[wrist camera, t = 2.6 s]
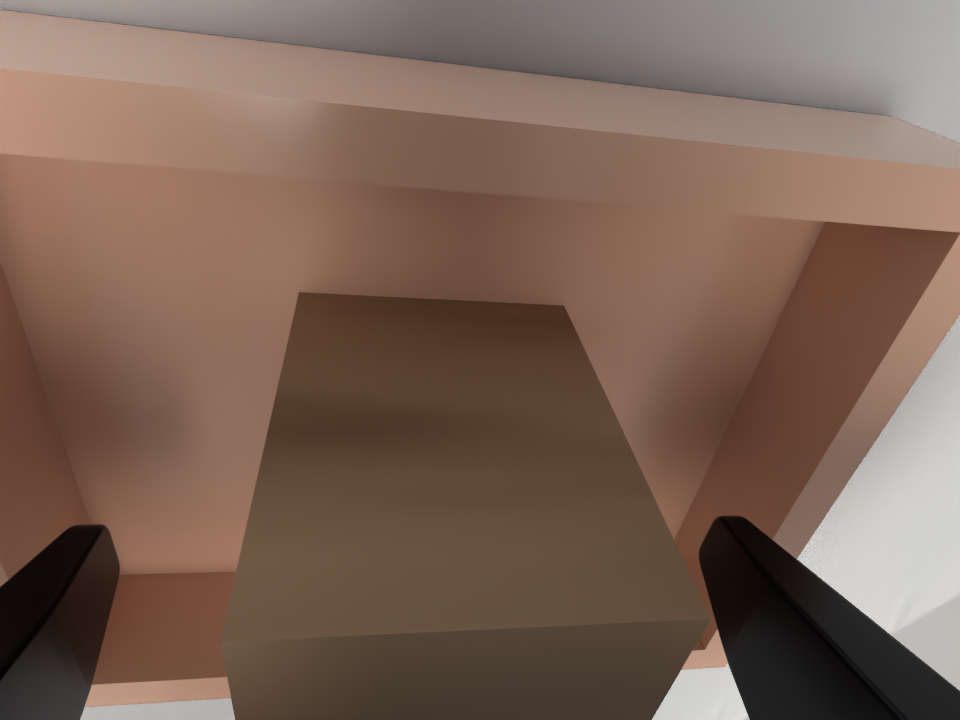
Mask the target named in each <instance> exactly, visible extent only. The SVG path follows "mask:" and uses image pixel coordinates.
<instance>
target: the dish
mask: <svg viewBox="0 0 960 720" xmlns="http://www.w3.org/2000/svg"><path fill="white" fill-rule="evenodd" d="M299 292H305V293H325V294H345V295H365V296H384V297H404V298H424V299H444V300H464V301H484V302H504V303H524V304H543V305H563V306H565V309H566V311H567V313H568V315H569V317H570V319H571V321H572V324H573V326H574V328H575V330H576V332H577V334H578V336H579V338H580V341H581V343H582V345H583V347H584V349H585V351H586V353H587V355H588V358H589V360H590V362H591V364H592V366H593V368H594V370H595V372H596V375H597V377H598V379H599V381H600V383H601V385H602V387H603V390H604V392H605V394H606V396H607V398H608V400H609V402H610V404H611V407H612V409H613V411H614V413H615V415H616V417H617V419H618V421H619V424H620V426H621V428H622V430H623V432H624V434H625V436H626V438H627V441H628V443H629V445H630V447H631V449H632V451H633V453H634V456H635V458H636V460H637V462H638V464H639V466H640V468H641V470H642V473H643V475H644V477H645V479H646V481H647V483H648V485H649V487H650V490H651V492H652V494H653V496H654V498H655V500H656V502H657V504H658V507H659V509H660V511H661V513H662V515H663V517H664V519H665V521H666V524H667V526H668V528H669V530H670V532H671V534H672V536H673V539H674V541H675V543H676V545H677V547H678V549H679V551H680V553H681V556H682V558H683V560H684V562H685V564H686V566H687V568H688V570H689V573H690V575H691V577H692V579H693V581H694V583H695V585H696V587H697V590H698V592H699V594H700V596H701V598H702V600H703V602H704V605H705V607H706V609H707V611H708V613H709V615H710V617H711V620H710V622H709V624H708V625H707V627H706V629H705V630H704V632H703V634H702V635H701V637H700V639H699V640H698V642H697V644H696V645H695V647H694V649H693V650H692V652H691V654H690V656H689V657H688V659H687V661H686V662H685V664H684V666H683V667H682V669H681V670H683V669H699V668H715V667H725V666H726V664H727V663H728V661H727V658H726V655H725V652H724V649H723V646H722V643H721V640H720V636H719V632H718V629H717V625H716V621H715V618H714V614H713V611H712V607H711V603H710V600H709V596H708V592H707V589H706V585H705V582H704V578H703V574H702V571H701V567H700V563H699V548H700V545H701V543H702V541H703V540H704V538H705V536H706V534H707V532H708V530H709V528H710V526H711V524H712V522H713V521H714V519H715V518H717V517H718V516H732V515H737V516H742V517H744V518H746V519H747V520H749V521H750V522H751V523H752V524H754V525H755V526H756V527H757V528H759V529H760V530H761V531H762V532H764V533H765V534H766V535H767V536H769V537H770V538H771V539H772V540H773V541H775V542H776V543H777V544H778V545H780V546H781V547H782V548H783V549H785V550H786V551H787V552H788V553H790V554H791V555H792V556H793V557H795V558H796V559H797V558H798V556H799V555H800V553H801V552H802V550H803V549H804V547H805V546H806V544H807V543H808V541H809V540H810V538H811V537H812V535H813V534H814V532H815V531H816V529H817V528H818V526H819V525H820V523H821V522H822V520H823V519H824V517H825V516H826V514H827V513H828V511H829V510H830V508H831V507H832V505H833V504H834V502H835V501H836V499H837V498H838V496H839V495H840V493H841V492H842V490H843V489H844V487H845V486H846V484H847V483H848V481H849V480H850V478H851V477H852V475H853V474H854V472H855V471H856V469H857V468H858V466H859V465H860V463H861V462H862V460H863V459H864V457H865V456H866V454H867V453H868V451H869V450H870V448H871V447H872V445H873V444H874V442H875V441H876V439H877V438H878V436H879V435H880V433H881V432H882V430H883V429H884V427H885V426H886V424H887V423H888V421H889V420H890V418H891V417H892V415H893V414H894V412H895V411H896V409H897V408H898V406H899V405H900V403H901V402H902V400H903V399H904V397H905V396H906V394H907V393H908V391H909V390H910V388H911V387H912V385H913V384H914V382H915V381H916V379H917V378H918V376H919V375H920V373H921V372H922V370H923V369H924V367H925V366H926V364H927V363H928V361H929V360H930V358H931V357H932V355H933V354H934V352H935V351H936V349H937V348H938V346H939V345H940V343H941V342H942V340H943V339H944V337H945V336H946V334H947V333H948V331H949V330H950V328H951V327H952V325H953V324H954V322H955V321H956V319H957V318H958V316H959V315H960V143H959V142H956V141H953V140H951V139H948V138H946V137H943V136H941V135H938V134H935V133H933V132H930V131H928V130H925V129H922V128H920V127H917V126H915V125H912V124H910V123H907V122H904V121H902V120H899V119H897V118H894V117H891V116H882V115H874V114H866V113H857V112H849V111H841V110H832V109H824V108H816V107H807V106H799V105H791V104H782V103H774V102H766V101H757V100H749V99H740V98H732V97H724V96H715V95H707V94H699V93H690V92H682V91H674V90H665V89H657V88H649V87H640V86H632V85H624V84H615V83H607V82H599V81H590V80H582V79H574V78H565V77H557V76H548V75H540V74H532V73H523V72H515V71H507V70H498V69H490V68H482V67H473V66H465V65H457V64H448V63H440V62H432V61H423V60H415V59H407V58H398V57H390V56H382V55H373V54H365V53H356V52H348V51H340V50H331V49H323V48H315V47H306V46H298V45H290V44H281V43H273V42H265V41H256V40H248V39H240V38H231V37H223V36H215V35H206V34H198V33H190V32H181V31H173V30H164V29H156V28H148V27H139V26H131V25H123V24H114V23H106V22H98V21H89V20H81V19H73V18H64V17H56V16H48V15H39V14H31V13H23V12H14V11H6V10H0V586H2V585H3V584H4V583H5V582H6V581H7V580H8V579H10V578H11V577H12V576H13V575H14V574H15V573H17V572H18V571H19V570H20V569H21V568H22V567H23V566H25V565H26V564H27V563H28V562H29V561H30V560H32V559H33V558H34V557H35V556H36V555H37V554H38V553H40V552H41V551H42V550H43V549H44V548H45V547H47V546H48V545H49V544H50V543H51V542H52V541H53V540H55V539H56V538H57V537H58V536H59V535H60V534H62V533H63V532H64V531H65V530H66V529H68V528H70V527H71V526H74V525H88V524H101V525H105V526H106V527H107V528H108V529H109V531H110V534H111V537H112V540H113V543H114V546H115V549H116V552H117V556H118V559H119V563H120V574H119V580H118V584H117V588H116V592H115V596H114V600H113V604H112V608H111V612H110V616H109V620H108V624H107V628H106V632H105V636H104V640H103V644H102V647H101V651H100V655H99V659H98V663H97V667H96V671H95V675H94V679H93V682H92V686H91V689H90V693H89V695H88V698H87V701H86V704H85V707H94V706H110V705H126V704H142V703H158V702H174V701H189V700H205V699H221V698H231V694H230V689H229V684H228V679H227V674H226V669H225V664H224V659H223V654H222V649H221V644H220V641H221V636H222V632H223V627H224V623H225V618H226V614H227V610H228V605H229V601H230V596H231V592H232V587H233V583H234V578H235V574H236V570H237V565H238V561H239V556H240V552H241V547H242V543H243V538H244V534H245V530H246V525H247V521H248V516H249V512H250V507H251V503H252V498H253V494H254V490H255V485H256V481H257V476H258V472H259V467H260V463H261V458H262V454H263V450H264V445H265V441H266V436H267V432H268V427H269V423H270V418H271V414H272V409H273V405H274V401H275V396H276V392H277V387H278V383H279V378H280V374H281V369H282V365H283V361H284V356H285V352H286V347H287V343H288V338H289V334H290V329H291V325H292V321H293V316H294V312H295V307H296V303H297V298H298V294H299Z"/></svg>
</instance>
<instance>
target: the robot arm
mask: <svg viewBox="0 0 960 720" xmlns="http://www.w3.org/2000/svg"><path fill="white" fill-rule="evenodd" d="M699 563H700V567H701V571H702V574H703V578H704V582H705V585H706V589H707V592H708V596H709V600H710V603H711V607H712V611H713V614H714V618H715V621H716V625H717V629H718V632H719V636H720V640H721V643H722V646H723V649H724V652H725V655H726V658H727V661H728V664H729V667H730V669H731V672H732V674H733V677H734V680H735V682H736V685H737V687H738V690H739V693H740V695H741V698H742V700H743V703H744V706H745V708H746V711H747V713H748V716H749V719H750V720H960V691H959V690H958V689H957V688H956V687H954V686H953V685H952V684H951V683H949V682H948V681H947V680H946V679H944V678H943V677H942V676H941V675H939V674H938V673H937V672H936V671H935V670H933V669H932V668H931V667H930V666H928V665H927V664H926V663H925V662H923V661H922V660H921V659H920V658H918V657H917V656H916V655H915V654H913V653H912V652H911V651H910V650H909V649H907V648H906V647H905V646H904V645H902V644H901V643H900V642H899V641H897V640H896V639H895V638H894V637H892V636H891V635H890V634H889V633H887V632H886V631H885V630H884V629H883V628H881V627H880V626H879V625H878V624H876V623H875V622H874V621H873V620H871V619H870V618H869V617H868V616H866V615H865V614H864V613H863V612H861V611H860V610H859V609H858V608H856V607H855V606H854V605H853V604H852V603H850V602H849V601H848V600H847V599H845V598H844V597H843V596H842V595H840V594H839V593H838V592H837V591H835V590H834V589H833V588H832V587H830V586H829V585H828V584H827V583H826V582H824V581H823V580H822V579H821V578H819V577H818V576H817V575H816V574H814V573H813V572H812V571H811V570H809V569H808V568H807V567H806V566H804V565H803V564H802V563H801V562H799V561H798V560H797V559H796V558H795V557H793V556H792V555H791V554H790V553H788V552H787V551H786V550H785V549H783V548H782V547H781V546H780V545H778V544H777V543H776V542H775V541H773V540H772V539H771V538H770V537H769V536H767V535H766V534H765V533H764V532H762V531H761V530H760V529H759V528H757V527H756V526H755V525H754V524H752V523H751V522H750V521H749V520H747V519H746V518H744V517H742V516H737V515H732V516H718V517H717V518H715V519H714V521H713V522H712V524H711V526H710V528H709V530H708V532H707V534H706V536H705V538H704V540H703V541H702V543H701V545H700V548H699ZM119 574H120V563H119V559H118V556H117V552H116V549H115V546H114V543H113V540H112V537H111V534H110V531H109V529H108V528H107V527H106V526H105V525H101V524H88V525H74V526H71V527H70V528H68V529H66V530H65V531H64V532H63V533H62V534H60V535H59V536H58V537H57V538H56V539H55V540H53V541H52V542H51V543H50V544H49V545H48V546H47V547H45V548H44V549H43V550H42V551H41V552H40V553H38V554H37V555H36V556H35V557H34V558H33V559H32V560H30V561H29V562H28V563H27V564H26V565H25V566H23V567H22V568H21V569H20V570H19V571H18V572H17V573H15V574H14V575H13V576H12V577H11V578H10V579H8V580H7V581H6V582H5V583H4V584H3V585H2V586H0V720H80V718H81V715H82V713H83V710H84V707H85V704H86V701H87V698H88V695H89V693H90V689H91V686H92V682H93V679H94V675H95V671H96V667H97V663H98V659H99V655H100V651H101V647H102V644H103V640H104V636H105V632H106V628H107V624H108V620H109V616H110V612H111V608H112V604H113V600H114V596H115V592H116V588H117V584H118V580H119Z"/></svg>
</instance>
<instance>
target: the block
mask: <svg viewBox="0 0 960 720" xmlns="http://www.w3.org/2000/svg"><path fill="white" fill-rule="evenodd" d="M710 620H711V617H710V615H709V613H708V611H707V609H706V607H705V605H704V602H703V600H702V598H701V596H700V594H699V592H698V590H697V587H696V585H695V583H694V581H693V579H692V577H691V575H690V573H689V570H688V568H687V566H686V564H685V562H684V560H683V558H682V556H681V553H680V551H679V549H678V547H677V545H676V543H675V541H674V539H673V536H672V534H671V532H670V530H669V528H668V526H667V524H666V521H665V519H664V517H663V515H662V513H661V511H660V509H659V507H658V504H657V502H656V500H655V498H654V496H653V494H652V492H651V490H650V487H649V485H648V483H647V481H646V479H645V477H644V475H643V473H642V470H641V468H640V466H639V464H638V462H637V460H636V458H635V456H634V453H633V451H632V449H631V447H630V445H629V443H628V441H627V438H626V436H625V434H624V432H623V430H622V428H621V426H620V424H619V421H618V419H617V417H616V415H615V413H614V411H613V409H612V407H611V404H610V402H609V400H608V398H607V396H606V394H605V392H604V390H603V387H602V385H601V383H600V381H599V379H598V377H597V375H596V372H595V370H594V368H593V366H592V364H591V362H590V360H589V358H588V355H587V353H586V351H585V349H584V347H583V345H582V343H581V341H580V338H579V336H578V334H577V332H576V330H575V328H574V326H573V324H572V321H571V319H570V317H569V315H568V313H567V311H566V309H565V306H563V305H543V304H524V303H504V302H484V301H464V300H444V299H424V298H404V297H384V296H365V295H345V294H325V293H305V292H299V294H298V298H297V303H296V307H295V312H294V316H293V321H292V325H291V329H290V334H289V338H288V343H287V347H286V352H285V356H284V361H283V365H282V369H281V374H280V378H279V383H278V387H277V392H276V396H275V401H274V405H273V409H272V414H271V418H270V423H269V427H268V432H267V436H266V441H265V445H264V450H263V454H262V458H261V463H260V467H259V472H258V476H257V481H256V485H255V490H254V494H253V498H252V503H251V507H250V512H249V516H248V521H247V525H246V530H245V534H244V538H243V543H242V547H241V552H240V556H239V561H238V565H237V570H236V574H235V578H234V583H233V587H232V592H231V596H230V601H229V605H228V610H227V614H226V618H225V623H224V627H223V632H222V636H221V641H220V644H221V649H222V654H223V659H224V664H225V669H226V674H227V679H228V684H229V689H230V694H231V700H232V705H233V710H234V715H235V720H652V718H653V716H654V714H655V713H656V711H657V709H658V708H659V706H660V704H661V703H662V701H663V699H664V698H665V696H666V694H667V693H668V691H669V689H670V688H671V686H672V684H673V682H674V681H675V679H676V677H677V676H678V674H679V672H680V671H681V669H682V667H683V666H684V664H685V662H686V661H687V659H688V657H689V656H690V654H691V652H692V650H693V649H694V647H695V645H696V644H697V642H698V640H699V639H700V637H701V635H702V634H703V632H704V630H705V629H706V627H707V625H708V624H709V622H710Z"/></svg>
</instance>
